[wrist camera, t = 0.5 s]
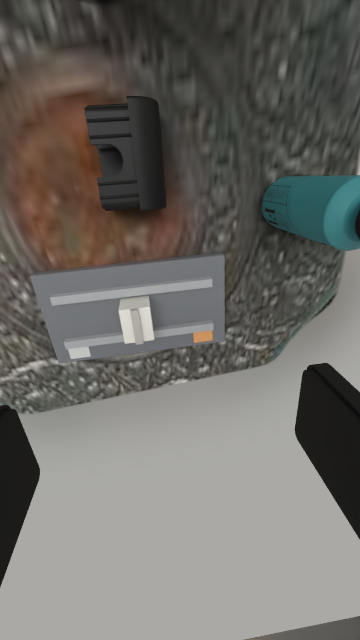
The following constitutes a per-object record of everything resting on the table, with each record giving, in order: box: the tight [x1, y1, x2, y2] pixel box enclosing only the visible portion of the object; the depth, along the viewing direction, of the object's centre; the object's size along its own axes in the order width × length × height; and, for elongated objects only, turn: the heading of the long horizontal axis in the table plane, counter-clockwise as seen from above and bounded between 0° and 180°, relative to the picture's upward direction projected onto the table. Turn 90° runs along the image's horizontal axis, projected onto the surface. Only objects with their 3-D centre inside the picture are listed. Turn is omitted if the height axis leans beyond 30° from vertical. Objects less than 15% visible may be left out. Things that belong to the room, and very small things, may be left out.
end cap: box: [85, 96, 167, 212], centre depth 31 cm, size 10×7×7 cm
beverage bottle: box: [262, 174, 360, 251], centre depth 29 cm, size 6×7×20 cm
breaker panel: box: [30, 252, 225, 363], centre depth 41 cm, size 14×26×2 cm, turn 94°
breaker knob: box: [118, 295, 154, 345], centre depth 39 cm, size 5×4×5 cm
